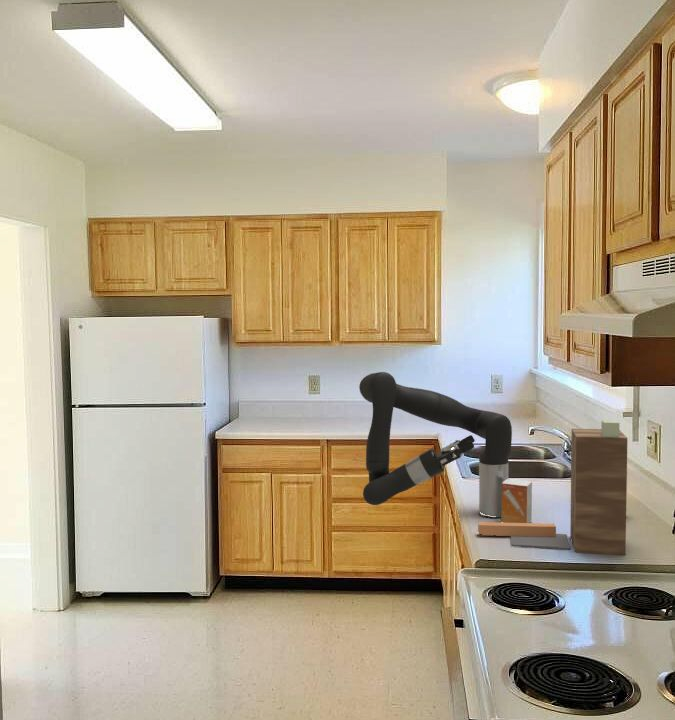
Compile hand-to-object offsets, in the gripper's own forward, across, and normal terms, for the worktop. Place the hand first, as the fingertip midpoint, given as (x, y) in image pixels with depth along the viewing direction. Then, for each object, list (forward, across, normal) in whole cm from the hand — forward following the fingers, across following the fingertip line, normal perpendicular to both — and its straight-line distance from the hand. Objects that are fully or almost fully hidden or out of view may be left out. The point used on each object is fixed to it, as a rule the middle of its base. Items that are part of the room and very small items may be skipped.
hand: (473, 440), depth 206 cm
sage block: (+33, -5, +16) cm, 37 cm away
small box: (-3, +17, +32) cm, 36 cm away
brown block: (-2, +2, +30) cm, 30 cm away
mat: (+2, 0, +34) cm, 34 cm away
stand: (+15, -1, +42) cm, 45 cm away
